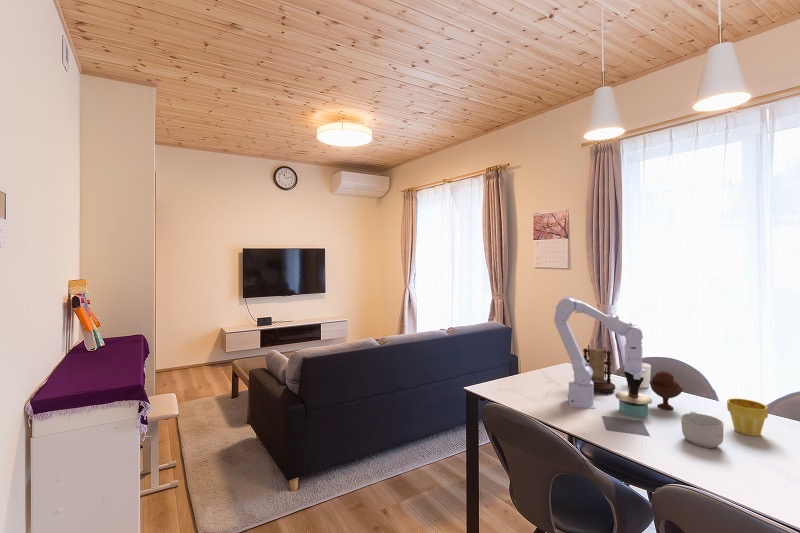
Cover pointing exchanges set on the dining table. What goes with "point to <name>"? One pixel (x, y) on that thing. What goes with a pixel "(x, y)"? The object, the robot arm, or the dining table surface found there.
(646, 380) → the white cup
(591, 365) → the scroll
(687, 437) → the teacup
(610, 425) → the mat
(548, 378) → the dining table surface
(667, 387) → the ice cream bowl
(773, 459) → the dining table surface
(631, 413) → the bowl
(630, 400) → the lid
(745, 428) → the plant pot
